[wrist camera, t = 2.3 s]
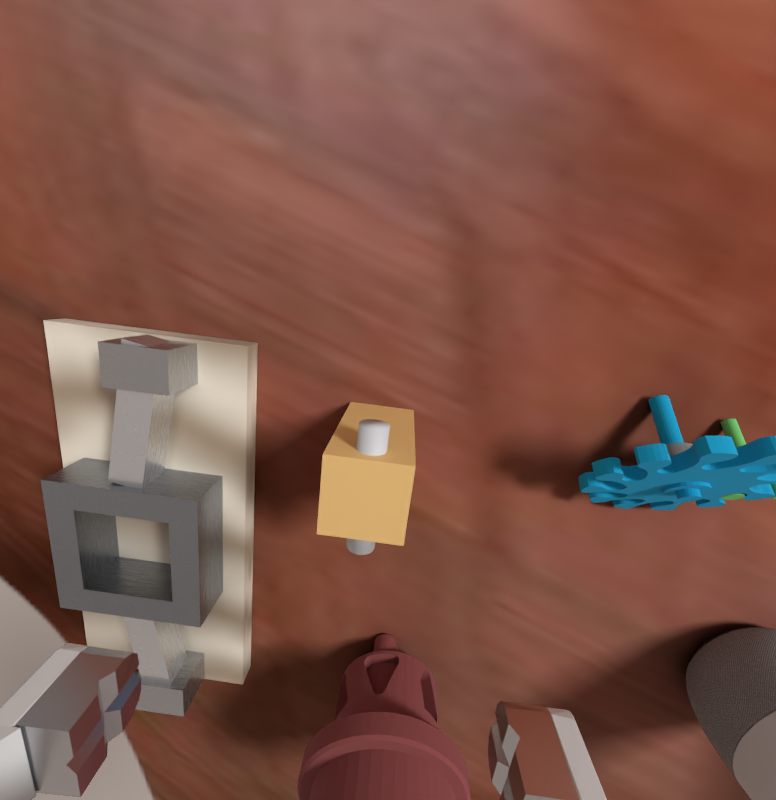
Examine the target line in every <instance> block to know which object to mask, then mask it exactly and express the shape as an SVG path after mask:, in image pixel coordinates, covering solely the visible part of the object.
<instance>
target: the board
mask: <svg viewBox="0 0 776 800" xmlns="http://www.w3.org/2000/svg"><path fill="white" fill-rule="evenodd" d="M43 321H44V328H45V335H46V343H47V350H48V358H49V365H50V373H51V380H52V388H53V395H54V403H55V410H56V417H57V425H58V432H59V440H60V447H61V455H62V462H63V468H65V467H67V466H69V465H71V464H73V463H75V462H77V461H79V460H80V459H82V458H91V459H99V460H106V461H110V454H111V444H112V434H113V423H114V413H115V402H116V392H117V389H112V388H104V387H102V382H101V372H100V362H99V351H98V341H105V340H111V339H117V338H123V337H130V336H141V335H147V334H148V335H151V336H155V337H158V338H161V339H167V340H175V341H183V342H191V343H197V360H198V384H196V385H194V386H191V387H189V388H187V389H184V390H182V391H180V392H177V393H175V398H174V405H173V412H172V419H171V426H170V433H169V440H168V447H167V454H166V461H165V468H166V469H173V470H181V471H188V472H196V473H203V474H211V475H218V476H223V592H222V594H221V595H220V597H219V599H218V600H217V602H216V603H215V605H214V607H213V608H212V610H211V611H210V613H209V615H208V616H207V618H206V619H205V621H204V623H203V624H202V626H201V627H193V626H186V625H179V626H180V630H181V634H182V638H183V642H184V646H185V650H188V651H195V652H202V653H204V664H205V678H204V679H209V680H216V681H222V682H229V683H236V684H243V683H244V680H245V678H246V676H247V673H248V671H249V669H250V666H251V629H252V583H253V537H254V491H255V444H256V398H257V352H258V343H255V342H247V341H239V340H231V339H223V338H216V337H208V336H200V335H192V334H184V333H176V332H168V331H160V330H152V329H144V328H137V327H129V326H121V325H113V324H105V323H97V322H89V321H81V320H73V319H54V320H43ZM116 526H117V537H118V547H119V557H125V558H132V559H139V560H146V561H154V562H161V563H168V564H171V559H170V539H169V523H163V522H156V521H149V520H142V519H134V518H127V517H120V516H116ZM83 619H84V626H85V634H86V641H87V646H93V647H99V648H105V649H112V650H118V651H125V652H131V653H133V649H132V646H131V643H130V640H129V636H128V633H127V630H126V627H125V623H124V620H123V617H122V616H116V615H109V614H102V613H95V612H88V611H83ZM136 669H138V667H137V668H136Z"/></svg>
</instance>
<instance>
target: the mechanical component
mask: <svg viewBox="0 0 776 800" xmlns="http://www.w3.org/2000/svg"><path fill="white" fill-rule="evenodd" d="M298 795H299V799H300V800H470V791H469V783H468V774H467V767H466V763H465V760H464V758H463V755H462V753H461V752H460V750H459V749H458V747H457V746H456V744H455V743H454V742H453V741H452V740H451V739H450V738H449V737H448V736H447V735H445V734H444V733H443V732H442V731H440V730H439V721H438V706H437V691H436V683H435V679H434V677H433V675H432V673H431V671H430V670H429V669H428V668H427V666H425V665H424V664H423V663H422V662H421V661H419V660H418V659H416V658H415V657H412V656H410V655H408V654H406V653H402V652H400V650H399V648H398V646H397V643H396V641H395V639H394V638H393V637H392V636H390V635H388V634H381V635H379V636H377V637H376V638H375V641H374V651H373V652H370V653H367V654H364V655H362V656H360V657H358V658H357V659H355V660H354V661H353V662H352V663H351V664H350V665H349V666H348V667H347V669H346V670H345V672H344V675H343V677H342V683H341V689H340V694H339V700H338V706H337V713H336V720H335V721H333V722H331V723H329V724H328V725H326V726H325V727H323V728H322V729H320V730H319V731H318V732H317V733H316V734H315V735H314V736H313V738H312V739H311V741H310V742H309V743H308V746H307V748H306V750H305V754H304V758H303V762H302V766H301V770H300V775H299V779H298Z"/></svg>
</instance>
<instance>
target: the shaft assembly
mask: <svg viewBox="0 0 776 800" xmlns="http://www.w3.org/2000/svg"><path fill="white" fill-rule="evenodd" d="M98 351H99V362H100V372H101V382H102V387H104V388H112V389H117V392H116V402H115V413H114V423H113V434H112V444H111V454H110V461H106V460H99V459H91V458H82V459H80V460H79V461H77V462H75V463H73V464H71V465H69V466H67V467H65V468H63V469H61V470H59V471H57V472H55V473H53V474H51V475H49V476H47V477H45V478H43V479H41V486H42V493H43V499H44V506H45V512H46V518H47V525H48V531H49V538H50V544H51V551H52V557H53V564H54V570H55V577H56V583H57V590H58V596H59V603H60V608H67V609H74V610H81V611H88V612H95V613H102V614H109V615H116V616H122V617H123V620H124V623H125V627H126V630H127V633H128V636H129V640H130V643H131V646H132V649H133V653H138V660H139V666H138V669H139V672H138V673H137V676H138V677H139V678H140V679H141V693H140V698H139V701H138V704H137V706H136V708H135V709H137V710H144V711H150V712H157V713H164V714H171V715H178V716H184V715H185V713H186V711H187V710H188V708H189V706H190V704H191V702H192V700H193V698H194V696H195V694H196V693H197V691H198V689H199V687H200V685H201V683H202V681H203V679H204V678H205V664H204V653H202V652H195V651H188V650H185V646H184V642H183V638H182V634H181V630H180V626H179V625H186V626H193V627H201V626H202V624H203V623H204V621H205V619H206V618H207V616H208V615H209V613H210V611H211V610H212V608H213V607H214V605H215V603H216V602H217V600H218V599H219V597H220V595H221V594H222V592H223V476H218V475H211V474H203V473H196V472H188V471H181V470H173V469H166V468H165V461H166V454H167V447H168V440H169V433H170V426H171V419H172V412H173V405H174V398H175V393H177V392H180V391H182V390H184V389H187V388H189V387H191V386H194V385H196V384H198V360H197V343H191V342H183V341H175V340H167V339H161V338H158V337H155V336H151V335H148V334H147V335H141V336H130V337H123V338H117V339H111V340H105V341H98ZM116 516H120V517H127V518H134V519H142V520H149V521H156V522H163V523H169V539H170V559H171V564H168V563H161V562H154V561H146V560H139V559H132V558H125V557H119V547H118V537H117V526H116Z"/></svg>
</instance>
